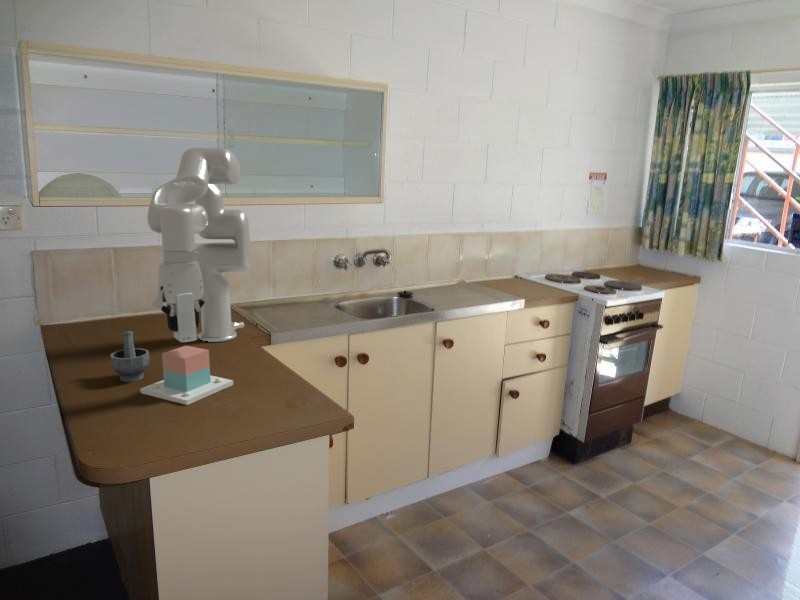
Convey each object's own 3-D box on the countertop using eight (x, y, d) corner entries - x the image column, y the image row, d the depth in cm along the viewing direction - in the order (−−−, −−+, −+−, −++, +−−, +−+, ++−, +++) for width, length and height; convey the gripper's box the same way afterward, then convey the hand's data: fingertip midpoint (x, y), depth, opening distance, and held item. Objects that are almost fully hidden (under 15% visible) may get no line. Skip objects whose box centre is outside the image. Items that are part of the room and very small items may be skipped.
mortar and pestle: (151, 381, 163) (148, 337, 160) (113, 386, 159) (109, 341, 156) (149, 368, 172) (145, 327, 170) (112, 373, 168) (108, 331, 166)
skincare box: (197, 340, 153) (195, 293, 151) (179, 343, 151) (176, 295, 148) (189, 335, 158) (186, 289, 155) (172, 337, 155) (168, 291, 153)
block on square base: (188, 374, 168) (186, 339, 166) (233, 384, 161) (231, 348, 159) (140, 393, 154) (137, 355, 152) (187, 405, 147) (184, 365, 145)
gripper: (202, 252, 159) (206, 320, 162) (138, 258, 146) (144, 332, 150) (218, 255, 154) (222, 325, 158) (153, 262, 141) (158, 338, 145)
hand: (184, 327), depth 154 cm, fingers closed on skincare box, 4 cm apart
